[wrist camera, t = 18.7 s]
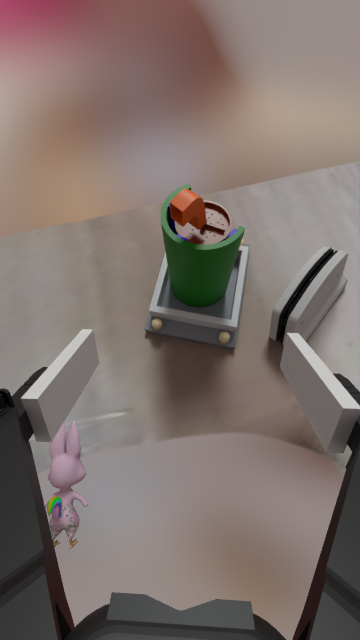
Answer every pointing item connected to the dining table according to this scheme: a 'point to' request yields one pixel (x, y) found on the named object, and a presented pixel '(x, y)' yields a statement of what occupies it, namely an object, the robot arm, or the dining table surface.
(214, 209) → the motor
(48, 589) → the robot arm
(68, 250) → the dining table surface
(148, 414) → the dining table surface
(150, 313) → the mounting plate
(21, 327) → the dining table surface
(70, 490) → the rabbit figure
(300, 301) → the grey arched block
